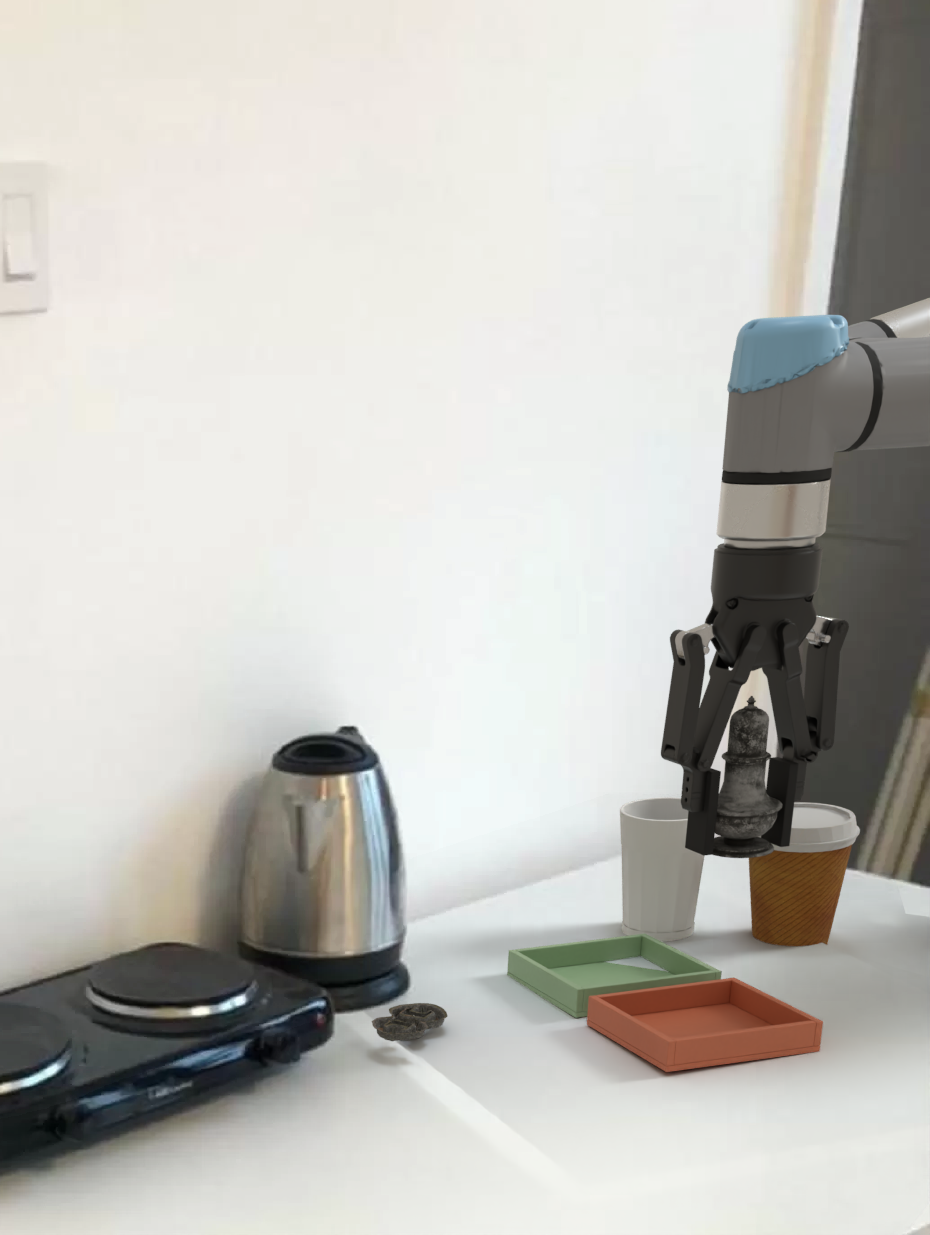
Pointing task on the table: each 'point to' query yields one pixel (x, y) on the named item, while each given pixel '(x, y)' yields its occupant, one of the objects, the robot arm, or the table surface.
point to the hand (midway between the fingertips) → (737, 846)
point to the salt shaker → (745, 788)
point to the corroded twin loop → (409, 1021)
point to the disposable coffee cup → (802, 877)
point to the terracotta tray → (703, 1024)
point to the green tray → (601, 969)
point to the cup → (658, 870)
